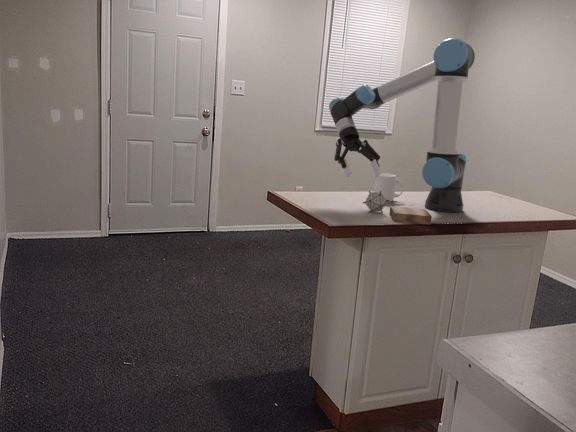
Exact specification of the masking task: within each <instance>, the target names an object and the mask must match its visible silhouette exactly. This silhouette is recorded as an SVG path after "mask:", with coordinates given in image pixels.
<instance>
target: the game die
mask: <svg viewBox="0 0 576 432" xmlns="http://www.w3.org/2000/svg"><path fill="white" fill-rule="evenodd" d="M367 195H368V196H367V197H366V200H365V201H363V202H362V204H365V205H366V207H367V208H368V210H369V213H370V214H371V213H372V212H381V213H382V214H383V209H384V208H385V206H386V204H387V202H388V201H389V200H386V199H385V198H384V196H383V195H382V194H381V191H380V192H374V191H370V190H368V194H367ZM389 202H390V201H389Z"/></svg>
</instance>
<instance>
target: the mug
mask: <svg viewBox="0 0 576 432" xmlns="http://www.w3.org/2000/svg"><path fill="white" fill-rule="evenodd" d="M397 177H398V176H397V175H395V174H392V173H385V172H384V173H382V172H381V173H380V175H379V176H378V177H376V176H375V183H374V188H373V189H374V190H373V192H380V191H381V194H382V195H383V196H384V198H385V199H386V200H389V201H388V202H393V201H394V199H395V198H399V197H400V196H402V194H403V192H404V184H403V182H402V181H401V180H400V179H398V178H397ZM396 184H399V185H400V186H401V192H400V193H396Z"/></svg>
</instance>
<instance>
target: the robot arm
mask: <svg viewBox="0 0 576 432" xmlns="http://www.w3.org/2000/svg"><path fill="white" fill-rule="evenodd" d="M432 57H433V61H431V62H428V63H426V64H424V65H422V66H420V67H418V68H415V69H414V70H411V71H409V72H407V73H405V74H403V75H400V76H398V77H396V78H394V79H391V80H389V81H387V82H385V83H383V84H381V85H379V86H377V87H374V88H372V87H371V86H370V85H368V84H365V83H364V84H363V85H361V86H359V87H357V88H356V89H355V90H354V91H353V92H351V93H350V94H349V95H347V96H346V97H345V98H344V97H336V98H334V99H332V100H331V101H330V102H329V105H328V109H329V112H330V116H331V117H332V121H333V123H334V125H335V128H336V131H337V134H338V136H339V138H338V139H337V141H335V146H336V149H335V153H334V159H333V160H334V161H335V162H337V163H338V164H340V166H341V168H342V169H344V170H343V171H344V173H345V177H350V175H351V174H353V173H352V169H351V167H350V164H349V161H348V159H347V158H345V157H346V155H347V154H348V153H349V152H356V153H358V154H361V155H362V156H364V157H365V158H366V159H367V160H369V161H370V165H371V167H372V170H373V172H374V175H375V178H376V177H378V176H379V175H380V173H382V171H381V169H380V164H379V160H380V159H381V155H379V153H378V152H377V151H376V150H375V149H374V148H373V147H372V146H371V145H370V144H369V142H368V140H367V139H364V140H360V134H359V132H358V129H357V126H356V125H355V121H354V119H353V116H354V115H356V114H357V113H358V112H360V111H361V110H363V109H364V110H366V109H367V110H376V109H378V108H380V107H381V106H382V105H384V104H386V103H389V102H391V101H393V100H395V99H398V98H400V97H402V96H405V95H406V94H407V95H408V94H409V93H411V92H414V91H416V90H419V89H420V88H423V87H425V86H428V85H430V84H432V83H435V82H438V83H437V92H436V93H437V94H436V95H437V96H436V103H435V112H434V123H433V133H432V142H431V147H430V148H429V149H428V150H427V152H426V159H425V161H426V162H424V164H423V167H422V170H421V171H422V172H421V175H422V179H423V180H424V182H425V183H426V184H427V185H428V186H429V187H431V189H430V191H429V193H428V195H427V197H426V199H425V201H424V207H425V208H427V209H430V210H433V211H439V212H444V213H462V212H463V210H464V201H463V195H462V194H463V193H462V187H463V181H464V175H465V169H466V164H467V155H466V154H464V153H460V152H459V150H457V148H456V146H457V137H458V136H457V135H458V127H459V119H460V118H459V117H460V109H461V103H462V102H461V100H462V90H463V85H464V82H465V81H466V80H467V79H468V75H469V70H470V69H471V68H472V66H473V65H474V63H475V57H476V55H475V51H474V49H473V47H472V46H471V45H470V44H468V42H465V41H464V40H463V39H460V38H454V37H451V38H447V39H444V40H442V41H441V42H439V44H438V45H437V46H436V48H435V49H434V53H433V56H432ZM342 146H343V147H345V148H344V150H343V152H342ZM341 152H342V154H341Z"/></svg>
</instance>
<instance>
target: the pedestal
mask: <svg viewBox="0 0 576 432" xmlns="http://www.w3.org/2000/svg"><path fill="white" fill-rule="evenodd" d="M388 214H389V215H390V217H391V219H392V222H396V223H409V224H419V225H420V224H421V225H431V224H432V217H433V216H432V215H431V214H430V213H429V211H428V210H427V209H426V208H419V207H418V208H417V207H406V206H404V207H403V206H394V205H390V207H389V213H388Z"/></svg>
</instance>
